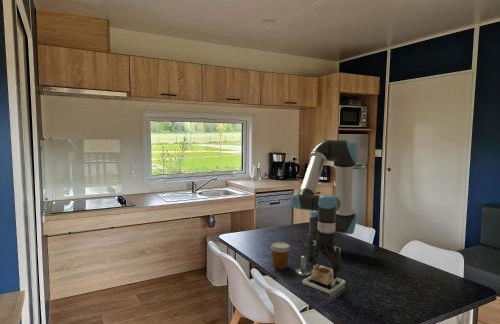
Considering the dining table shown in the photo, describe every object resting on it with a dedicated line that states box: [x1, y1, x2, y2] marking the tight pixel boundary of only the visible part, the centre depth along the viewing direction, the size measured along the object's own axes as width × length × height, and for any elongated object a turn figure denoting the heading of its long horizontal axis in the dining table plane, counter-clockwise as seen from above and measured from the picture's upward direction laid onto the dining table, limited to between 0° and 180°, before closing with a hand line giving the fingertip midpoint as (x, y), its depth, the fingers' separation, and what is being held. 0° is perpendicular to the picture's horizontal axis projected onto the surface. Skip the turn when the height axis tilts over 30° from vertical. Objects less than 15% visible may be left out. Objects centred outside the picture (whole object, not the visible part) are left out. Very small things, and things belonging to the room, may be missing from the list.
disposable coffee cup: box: [270, 241, 291, 270], centre depth 156 cm, size 10×10×12 cm
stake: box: [294, 255, 311, 276], centre depth 150 cm, size 7×7×9 cm
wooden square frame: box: [310, 264, 337, 286], centre depth 139 cm, size 8×9×4 cm
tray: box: [301, 275, 346, 298], centre depth 139 cm, size 13×13×3 cm
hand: (323, 282), depth 138 cm, fingers closed on wooden square frame, 8 cm apart
